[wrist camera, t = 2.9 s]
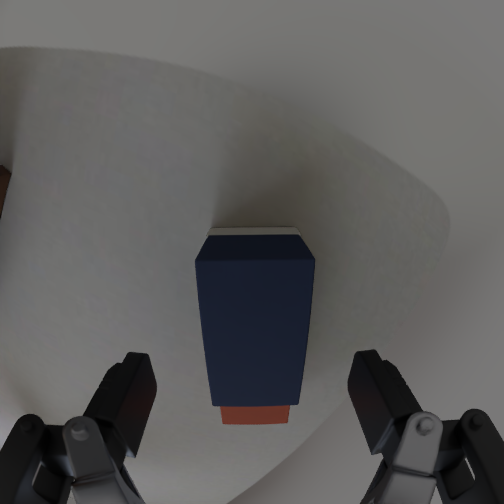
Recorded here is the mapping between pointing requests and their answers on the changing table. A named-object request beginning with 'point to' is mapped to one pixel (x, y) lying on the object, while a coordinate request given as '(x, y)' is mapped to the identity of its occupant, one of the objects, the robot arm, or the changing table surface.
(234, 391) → the block
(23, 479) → the robot arm
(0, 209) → the shoe shelf
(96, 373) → the changing table surface
